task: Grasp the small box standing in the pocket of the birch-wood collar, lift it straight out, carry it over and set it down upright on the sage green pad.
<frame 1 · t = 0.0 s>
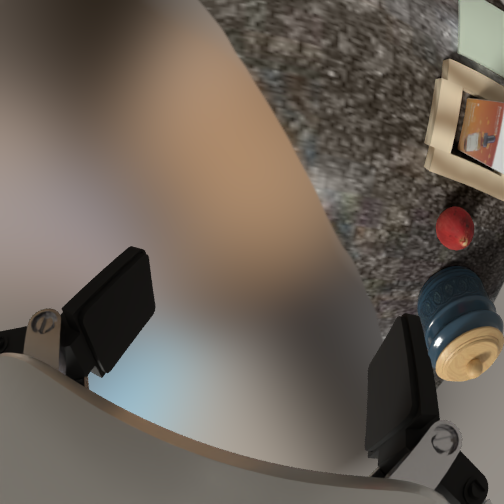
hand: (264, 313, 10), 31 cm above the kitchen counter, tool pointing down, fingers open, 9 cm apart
red round piece: (446, 217, 34), on the kitchen counter
canister: (448, 294, 40), on the kitchen counter
small box: (476, 130, 27), resting in pocket plate
pocket plate: (477, 130, 27), on the kitchen counter
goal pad: (492, 36, 18), on the kitchen counter
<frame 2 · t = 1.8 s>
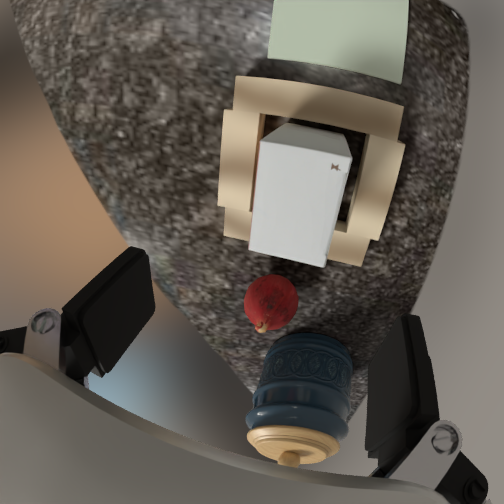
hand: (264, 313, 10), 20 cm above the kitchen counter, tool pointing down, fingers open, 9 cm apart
red round piece: (278, 280, 34), on the kitchen counter
canister: (309, 358, 40), on the kitchen counter
small box: (308, 166, 26), resting in pocket plate
pocket plate: (308, 167, 26), on the kitchen counter
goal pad: (341, 11, 17), on the kitchen counter
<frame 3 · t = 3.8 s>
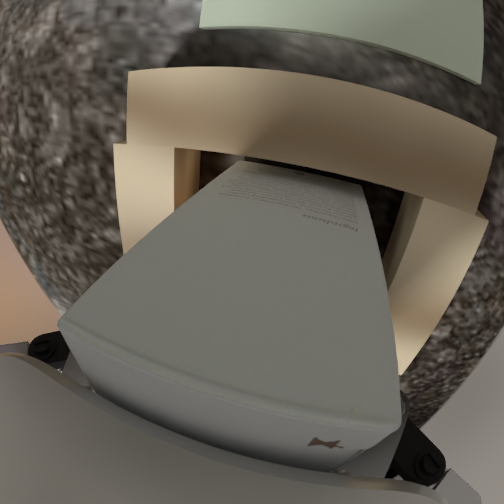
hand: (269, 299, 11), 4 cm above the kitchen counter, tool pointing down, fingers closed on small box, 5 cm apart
small box: (287, 245, 14), resting in pocket plate, touching gripper
pocket plate: (287, 247, 14), on the kitchen counter
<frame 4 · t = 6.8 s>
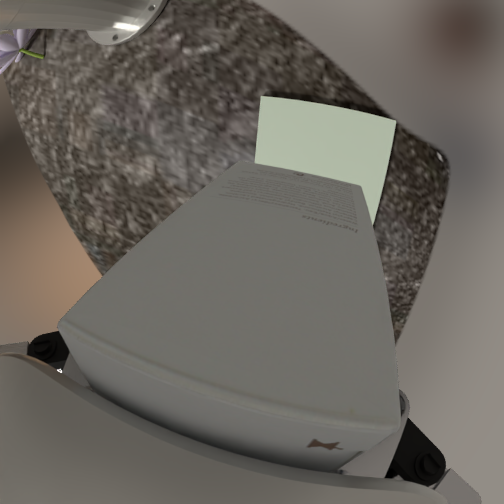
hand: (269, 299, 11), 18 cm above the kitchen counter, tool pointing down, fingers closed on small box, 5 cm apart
water lily: (38, 39, 24), on the kitchen counter
small box: (287, 246, 14), point 14 cm above the kitchen counter, touching gripper
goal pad: (319, 168, 25), on the kitchen counter
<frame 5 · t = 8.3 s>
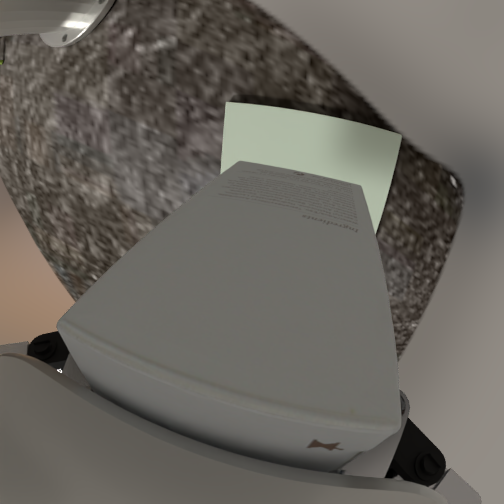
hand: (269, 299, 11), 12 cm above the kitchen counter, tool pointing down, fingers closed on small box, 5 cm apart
small box: (287, 245, 14), point 7 cm above the kitchen counter, touching gripper
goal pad: (301, 194, 20), on the kitchen counter
when the fingers open (6 cm above the kitchen counter, at t = 9.8 s): small box drops 1 cm, resting on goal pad.
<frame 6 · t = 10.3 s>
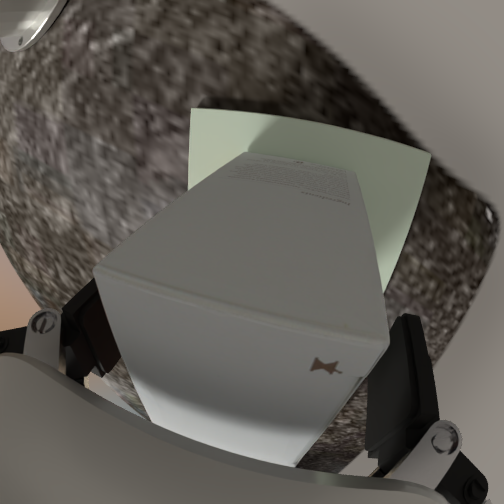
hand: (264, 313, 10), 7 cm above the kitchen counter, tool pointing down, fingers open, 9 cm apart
small box: (289, 230, 15), resting on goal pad
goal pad: (292, 230, 16), on the kitchen counter
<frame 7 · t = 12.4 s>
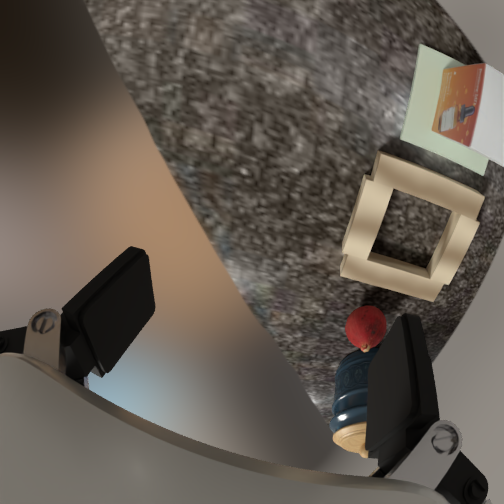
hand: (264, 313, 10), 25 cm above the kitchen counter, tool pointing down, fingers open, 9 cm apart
red round piece: (365, 308, 39), on the kitchen counter
canister: (370, 368, 45), on the kitchen counter
small box: (456, 108, 22), resting on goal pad
pocket plate: (410, 228, 31), on the kitchen counter
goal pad: (456, 110, 23), on the kitchen counter
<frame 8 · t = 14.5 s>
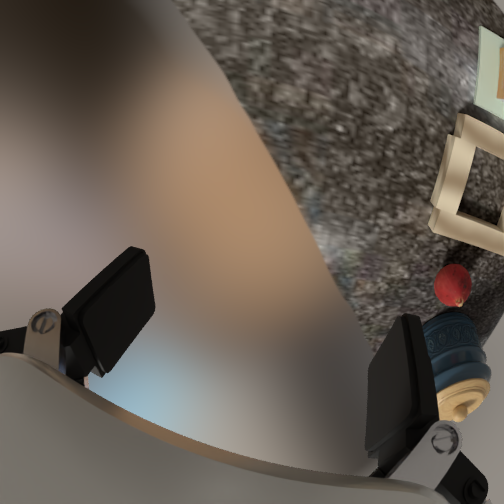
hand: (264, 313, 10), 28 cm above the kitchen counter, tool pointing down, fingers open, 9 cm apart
red round piece: (445, 269, 35), on the kitchen counter
canister: (443, 336, 41), on the kitchen counter
pocket plate: (485, 186, 28), on the kitchen counter
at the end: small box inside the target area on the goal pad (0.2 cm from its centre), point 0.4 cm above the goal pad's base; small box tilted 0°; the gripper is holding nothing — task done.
